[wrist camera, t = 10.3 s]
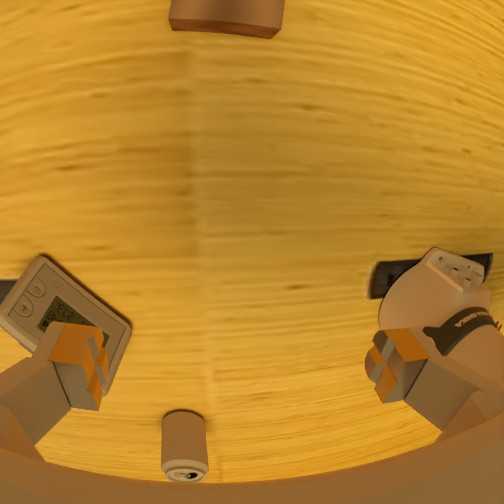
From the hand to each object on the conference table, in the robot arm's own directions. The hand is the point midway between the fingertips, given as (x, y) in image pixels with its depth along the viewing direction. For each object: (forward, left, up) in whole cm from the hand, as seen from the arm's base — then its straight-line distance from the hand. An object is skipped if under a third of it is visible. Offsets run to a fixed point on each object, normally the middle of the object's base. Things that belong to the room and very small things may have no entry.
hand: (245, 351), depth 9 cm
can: (+3, +42, -27) cm, 50 cm away
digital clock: (+17, +17, -27) cm, 36 cm away
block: (0, -20, -27) cm, 34 cm away
